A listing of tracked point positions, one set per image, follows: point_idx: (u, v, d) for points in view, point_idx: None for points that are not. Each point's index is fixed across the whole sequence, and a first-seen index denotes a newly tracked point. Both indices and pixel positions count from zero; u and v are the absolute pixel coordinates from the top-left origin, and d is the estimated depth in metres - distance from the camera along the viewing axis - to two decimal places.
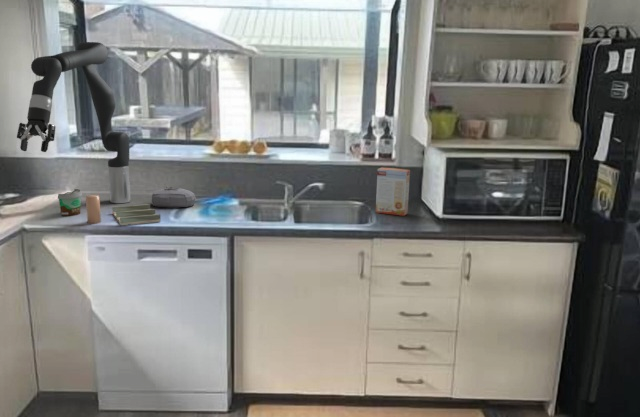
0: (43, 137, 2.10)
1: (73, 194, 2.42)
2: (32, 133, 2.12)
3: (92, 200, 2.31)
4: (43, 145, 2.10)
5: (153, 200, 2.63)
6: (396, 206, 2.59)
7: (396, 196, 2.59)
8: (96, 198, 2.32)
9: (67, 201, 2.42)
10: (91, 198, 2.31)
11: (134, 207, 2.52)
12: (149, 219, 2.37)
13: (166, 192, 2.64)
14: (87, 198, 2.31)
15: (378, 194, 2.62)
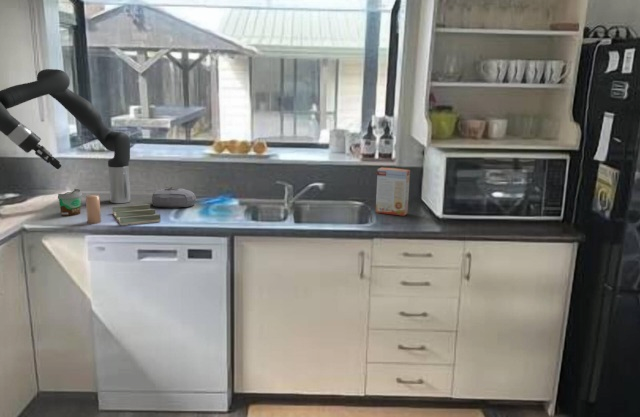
0: None
1: (73, 194, 2.42)
2: None
3: (92, 200, 2.31)
4: (53, 165, 2.20)
5: (153, 200, 2.63)
6: (396, 206, 2.59)
7: (396, 196, 2.59)
8: (96, 198, 2.32)
9: (67, 201, 2.42)
10: (91, 198, 2.31)
11: (134, 207, 2.52)
12: (149, 219, 2.37)
13: (166, 192, 2.64)
14: (87, 198, 2.31)
15: (378, 194, 2.62)
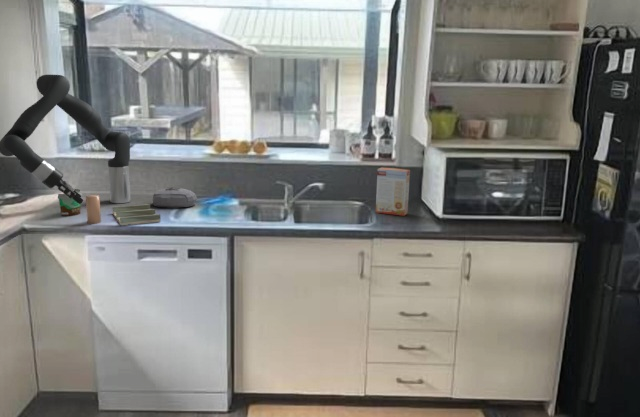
0: (69, 196, 2.25)
1: None
2: None
3: (92, 200, 2.31)
4: (75, 200, 2.26)
5: (154, 200, 2.63)
6: (396, 206, 2.59)
7: (396, 196, 2.59)
8: (96, 198, 2.32)
9: (67, 201, 2.42)
10: (91, 198, 2.31)
11: (134, 207, 2.52)
12: (149, 219, 2.37)
13: (167, 192, 2.63)
14: (87, 198, 2.31)
15: (378, 194, 2.62)
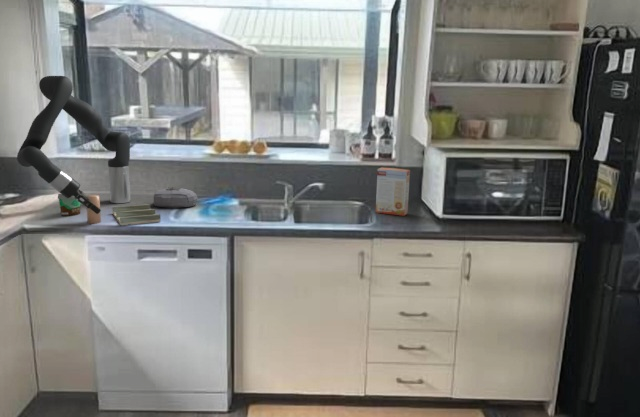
0: (87, 206, 2.30)
1: None
2: None
3: (92, 200, 2.31)
4: (93, 210, 2.32)
5: (155, 200, 2.63)
6: (396, 206, 2.59)
7: (396, 196, 2.59)
8: (96, 198, 2.32)
9: (67, 201, 2.42)
10: (91, 198, 2.31)
11: (134, 207, 2.52)
12: (149, 219, 2.37)
13: (168, 192, 2.63)
14: None
15: (378, 194, 2.62)
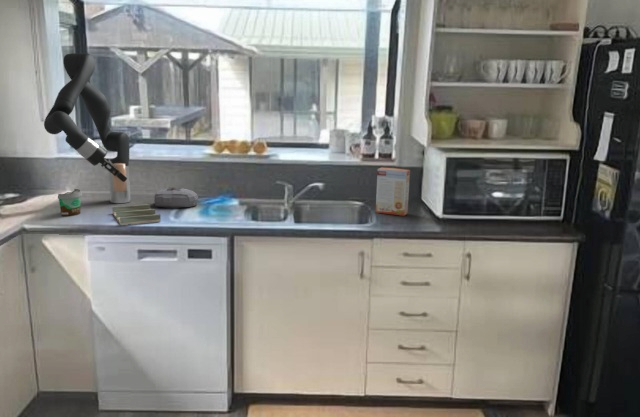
0: None
1: (73, 194, 2.42)
2: None
3: (118, 168, 2.31)
4: (120, 178, 2.31)
5: (156, 200, 2.63)
6: (396, 206, 2.59)
7: (396, 196, 2.59)
8: (122, 166, 2.32)
9: (67, 201, 2.42)
10: (117, 166, 2.31)
11: (134, 207, 2.52)
12: (149, 219, 2.37)
13: (169, 192, 2.63)
14: (113, 166, 2.31)
15: (378, 194, 2.62)
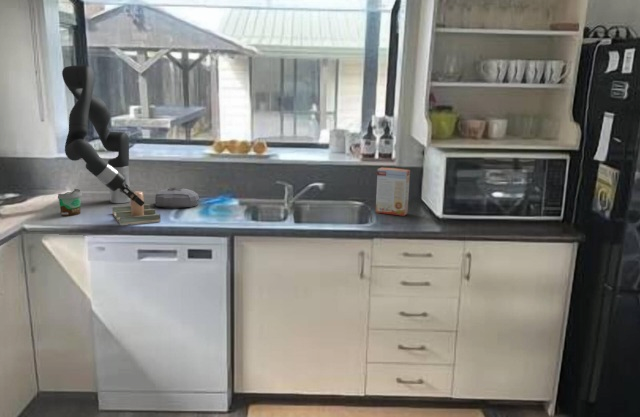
0: (131, 198, 2.33)
1: (73, 194, 2.42)
2: None
3: None
4: (137, 203, 2.34)
5: (157, 200, 2.63)
6: (396, 206, 2.59)
7: (396, 196, 2.59)
8: (140, 195, 2.36)
9: (67, 201, 2.42)
10: None
11: None
12: (149, 219, 2.37)
13: (170, 192, 2.63)
14: None
15: (378, 194, 2.62)
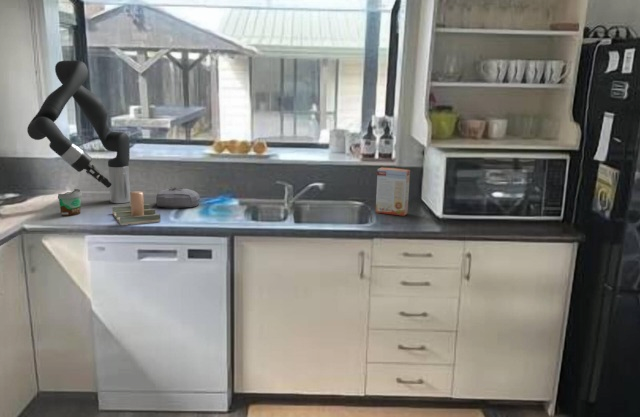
0: None
1: (73, 194, 2.42)
2: None
3: (136, 196, 2.35)
4: (104, 184, 2.26)
5: (157, 200, 2.63)
6: (396, 206, 2.59)
7: (396, 196, 2.59)
8: (140, 195, 2.36)
9: (67, 201, 2.42)
10: (135, 194, 2.35)
11: None
12: (149, 219, 2.37)
13: (170, 192, 2.63)
14: (132, 194, 2.35)
15: (378, 194, 2.62)
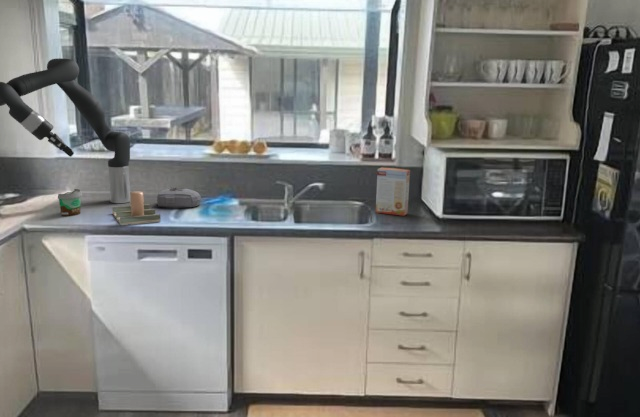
0: None
1: (73, 194, 2.42)
2: None
3: (136, 196, 2.35)
4: (66, 153, 2.22)
5: (158, 200, 2.62)
6: (396, 206, 2.59)
7: (396, 196, 2.59)
8: (140, 195, 2.36)
9: (67, 201, 2.42)
10: (136, 194, 2.35)
11: None
12: (149, 219, 2.37)
13: (171, 192, 2.63)
14: (132, 194, 2.35)
15: (378, 194, 2.62)
